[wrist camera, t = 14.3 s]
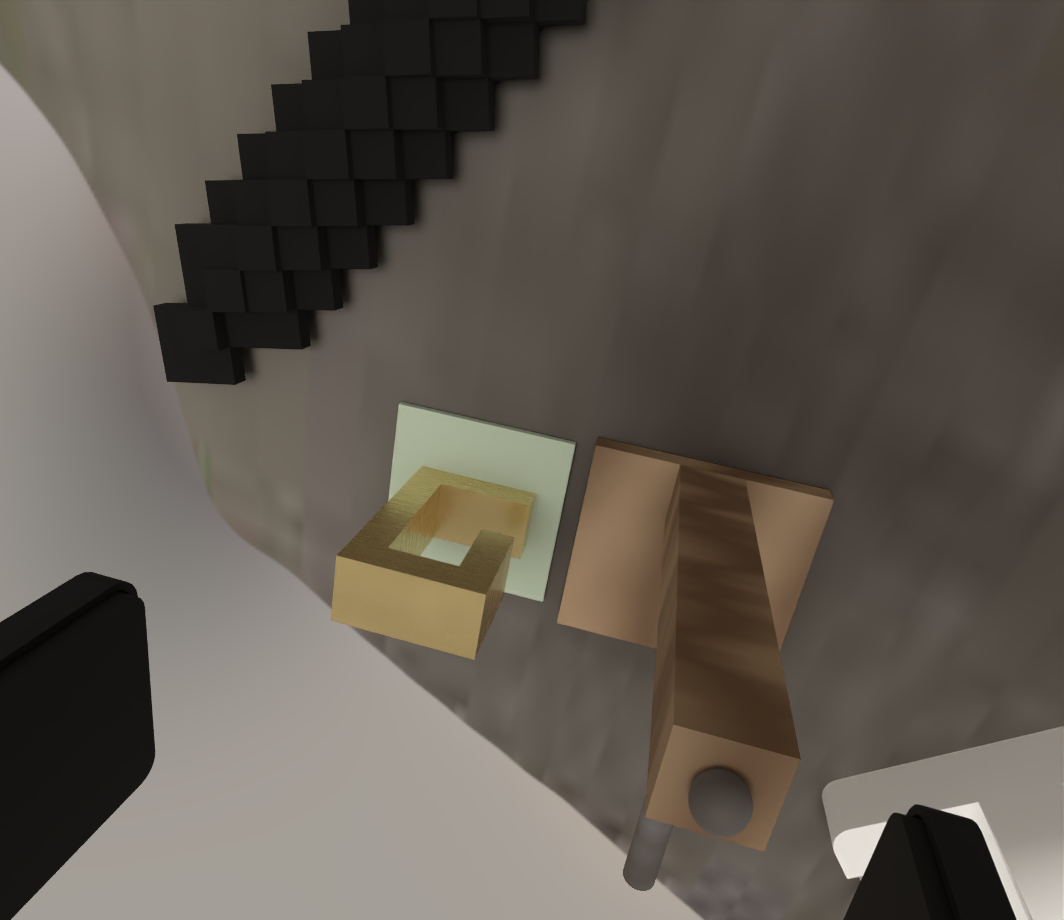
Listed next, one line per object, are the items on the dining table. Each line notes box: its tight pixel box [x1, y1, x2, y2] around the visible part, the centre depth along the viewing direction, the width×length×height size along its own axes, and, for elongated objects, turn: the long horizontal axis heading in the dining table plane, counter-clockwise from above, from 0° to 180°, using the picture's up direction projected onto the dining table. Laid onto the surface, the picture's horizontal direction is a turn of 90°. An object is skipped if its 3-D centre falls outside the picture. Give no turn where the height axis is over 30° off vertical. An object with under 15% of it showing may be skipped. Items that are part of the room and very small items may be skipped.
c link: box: [331, 466, 536, 660], centre depth 33 cm, size 6×3×10 cm, turn 80°
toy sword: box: [154, 0, 586, 385], centre depth 29 cm, size 11×40×4 cm, turn 135°
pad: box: [388, 402, 576, 602], centre depth 38 cm, size 9×9×1 cm
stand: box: [557, 437, 834, 891], centre depth 28 cm, size 11×12×20 cm
